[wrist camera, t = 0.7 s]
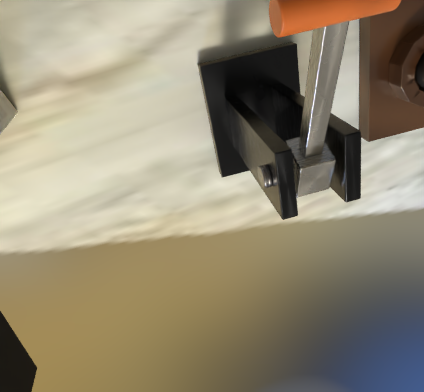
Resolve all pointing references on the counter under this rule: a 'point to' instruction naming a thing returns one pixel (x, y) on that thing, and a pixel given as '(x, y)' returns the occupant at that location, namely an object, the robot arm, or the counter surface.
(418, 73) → the button
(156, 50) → the counter surface
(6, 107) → the white packaging box
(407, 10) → the button block
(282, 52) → the switch bracket
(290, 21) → the switch
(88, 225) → the counter surface
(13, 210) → the counter surface
